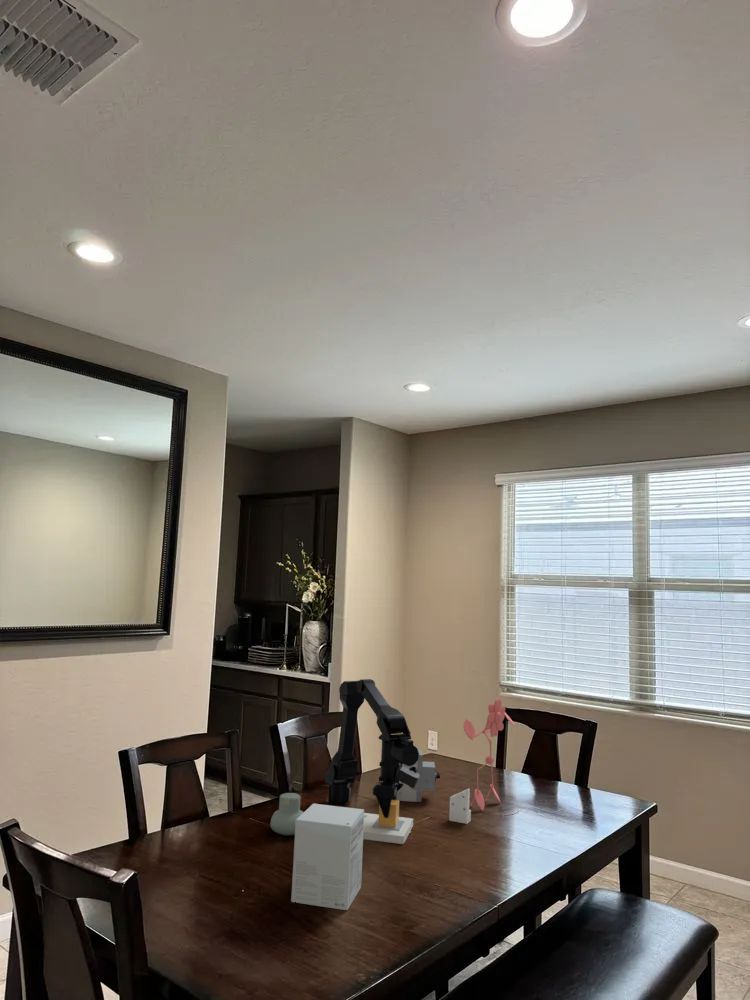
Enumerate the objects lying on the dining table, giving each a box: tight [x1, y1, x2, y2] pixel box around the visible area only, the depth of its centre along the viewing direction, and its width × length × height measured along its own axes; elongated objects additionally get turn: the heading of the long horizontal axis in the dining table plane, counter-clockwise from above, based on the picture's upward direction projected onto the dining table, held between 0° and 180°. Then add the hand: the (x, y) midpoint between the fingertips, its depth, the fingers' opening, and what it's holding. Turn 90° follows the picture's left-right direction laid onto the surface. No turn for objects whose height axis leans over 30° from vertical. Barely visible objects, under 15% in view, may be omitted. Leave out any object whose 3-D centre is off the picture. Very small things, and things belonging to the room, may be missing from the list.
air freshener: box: [270, 792, 305, 836], centre depth 195 cm, size 11×8×10 cm
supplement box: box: [290, 803, 365, 911], centre depth 157 cm, size 13×13×18 cm
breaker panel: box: [363, 812, 414, 845], centre depth 199 cm, size 20×16×2 cm
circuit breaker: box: [396, 749, 441, 803], centre depth 233 cm, size 8×14×15 cm, turn 89°
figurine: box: [463, 698, 520, 817], centre depth 227 cm, size 15×26×35 cm, turn 140°
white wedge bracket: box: [448, 788, 472, 825], centre depth 212 cm, size 4×10×9 cm, turn 65°
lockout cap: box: [378, 799, 400, 827], centre depth 199 cm, size 5×5×6 cm
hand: (388, 813), depth 199 cm, fingers open, 7 cm apart
